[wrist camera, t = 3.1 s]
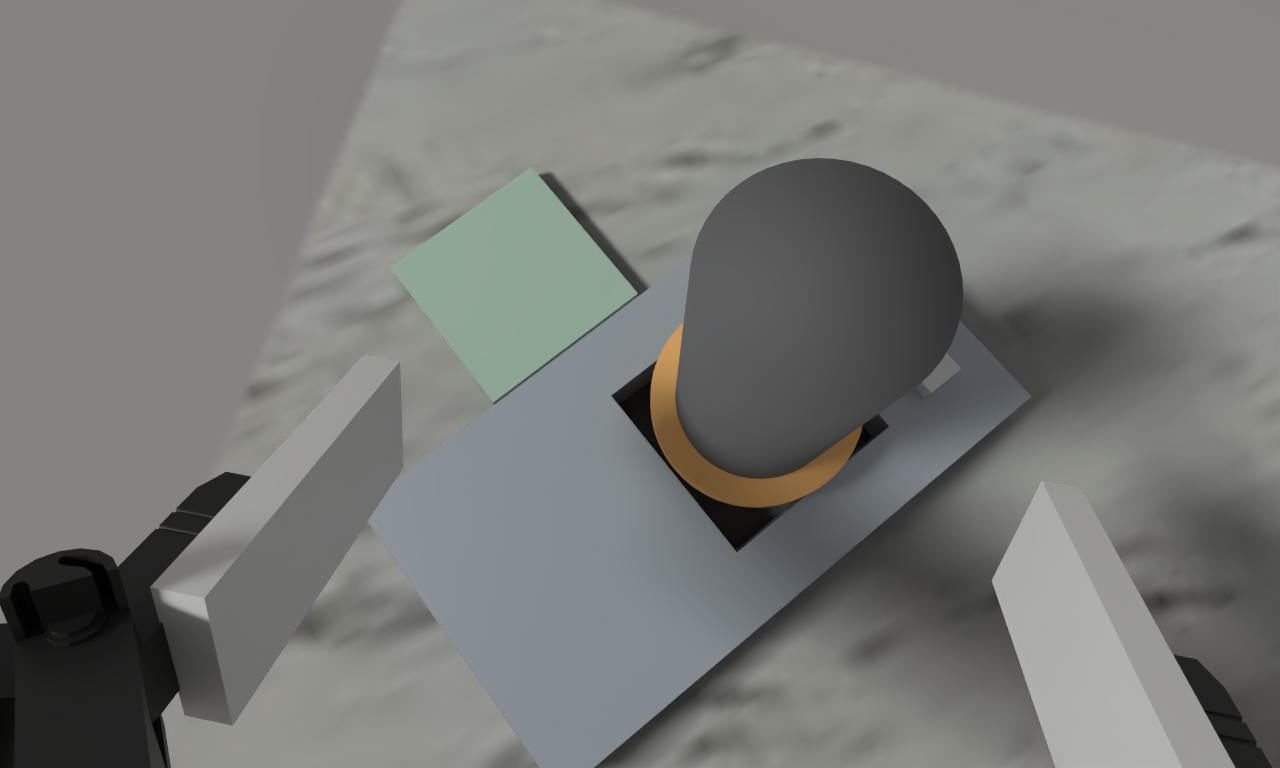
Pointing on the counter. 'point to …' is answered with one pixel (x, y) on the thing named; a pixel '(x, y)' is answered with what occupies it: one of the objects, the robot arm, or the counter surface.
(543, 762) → the square cutout plate
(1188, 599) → the counter surface
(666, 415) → the plug
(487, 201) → the pad
